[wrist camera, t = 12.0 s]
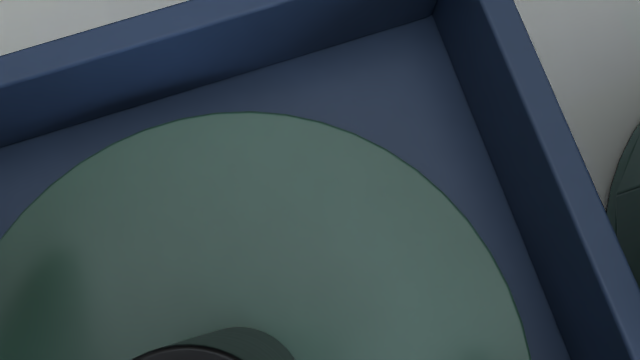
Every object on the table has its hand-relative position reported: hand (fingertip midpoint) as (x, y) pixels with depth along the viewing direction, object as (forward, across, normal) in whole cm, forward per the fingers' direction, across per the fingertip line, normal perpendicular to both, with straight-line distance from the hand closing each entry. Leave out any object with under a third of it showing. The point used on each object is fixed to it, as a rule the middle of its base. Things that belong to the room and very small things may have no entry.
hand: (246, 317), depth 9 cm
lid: (+1, 0, +3) cm, 3 cm away
